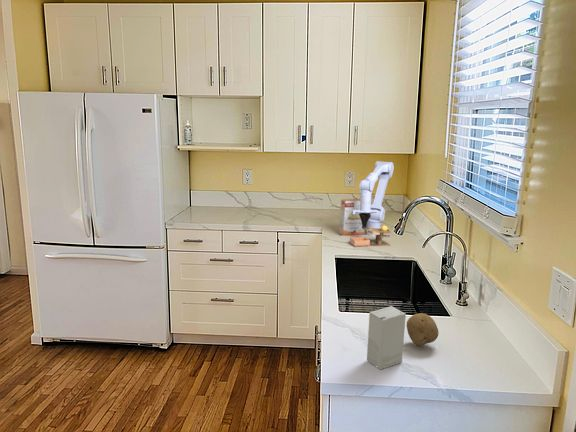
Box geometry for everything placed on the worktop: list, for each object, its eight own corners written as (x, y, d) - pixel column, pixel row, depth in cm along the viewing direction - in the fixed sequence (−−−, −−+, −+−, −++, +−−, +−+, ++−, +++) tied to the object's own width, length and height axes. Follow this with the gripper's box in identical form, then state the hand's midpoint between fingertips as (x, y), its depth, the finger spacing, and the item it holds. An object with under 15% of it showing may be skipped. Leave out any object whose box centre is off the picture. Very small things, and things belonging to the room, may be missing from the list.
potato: (431, 339, 143) (434, 308, 141) (441, 353, 134) (444, 320, 132) (401, 338, 143) (404, 308, 141) (410, 353, 134) (412, 320, 132)
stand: (347, 244, 251) (348, 229, 249) (384, 242, 256) (385, 228, 254) (353, 248, 243) (354, 233, 241) (391, 247, 247) (392, 232, 246)
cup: (349, 242, 250) (349, 237, 249) (364, 242, 252) (364, 237, 251) (354, 246, 243) (354, 240, 243) (369, 245, 245) (369, 240, 245)
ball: (378, 228, 249) (382, 223, 249) (380, 231, 251) (384, 226, 252) (384, 231, 247) (388, 226, 247) (385, 234, 249) (389, 229, 250)
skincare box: (388, 354, 133) (391, 305, 130) (403, 363, 128) (407, 312, 125) (365, 361, 129) (368, 310, 126) (379, 371, 124) (383, 318, 121)
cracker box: (343, 236, 267) (345, 200, 263) (338, 234, 273) (340, 199, 268) (365, 235, 272) (367, 200, 267) (360, 233, 277) (362, 198, 273)
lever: (360, 230, 258) (361, 224, 257) (379, 231, 260) (380, 225, 260) (369, 236, 245) (370, 229, 244) (389, 237, 248) (390, 230, 247)
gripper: (355, 203, 248) (354, 228, 251) (381, 203, 251) (379, 228, 254) (351, 201, 255) (349, 225, 257) (375, 201, 258) (374, 225, 261)
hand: (364, 226), depth 256 cm, fingers closed, pressing on lever
